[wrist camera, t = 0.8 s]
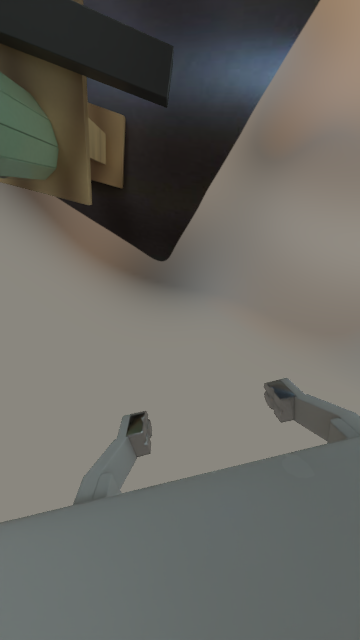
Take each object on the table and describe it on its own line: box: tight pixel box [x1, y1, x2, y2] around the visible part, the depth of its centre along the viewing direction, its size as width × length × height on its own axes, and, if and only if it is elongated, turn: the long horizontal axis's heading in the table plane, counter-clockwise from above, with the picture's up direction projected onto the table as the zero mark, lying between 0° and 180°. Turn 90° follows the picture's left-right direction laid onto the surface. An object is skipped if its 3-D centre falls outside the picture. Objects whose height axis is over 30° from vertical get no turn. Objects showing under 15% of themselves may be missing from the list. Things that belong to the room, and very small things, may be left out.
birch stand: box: [0, 0, 125, 205], centre depth 28 cm, size 14×16×26 cm
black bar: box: [0, 0, 173, 108], centre depth 15 cm, size 22×3×2 cm, turn 76°
